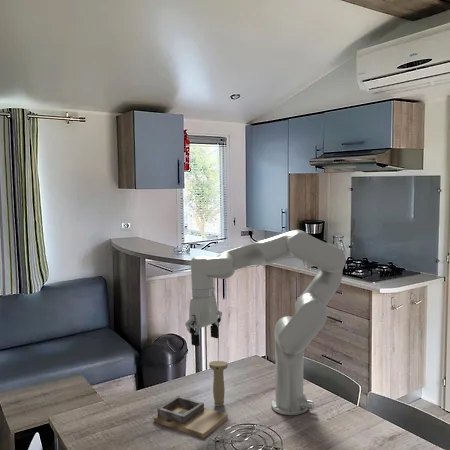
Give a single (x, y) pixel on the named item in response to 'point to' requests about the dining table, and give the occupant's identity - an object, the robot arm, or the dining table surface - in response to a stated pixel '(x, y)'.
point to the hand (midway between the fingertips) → (205, 341)
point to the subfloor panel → (189, 416)
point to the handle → (218, 381)
